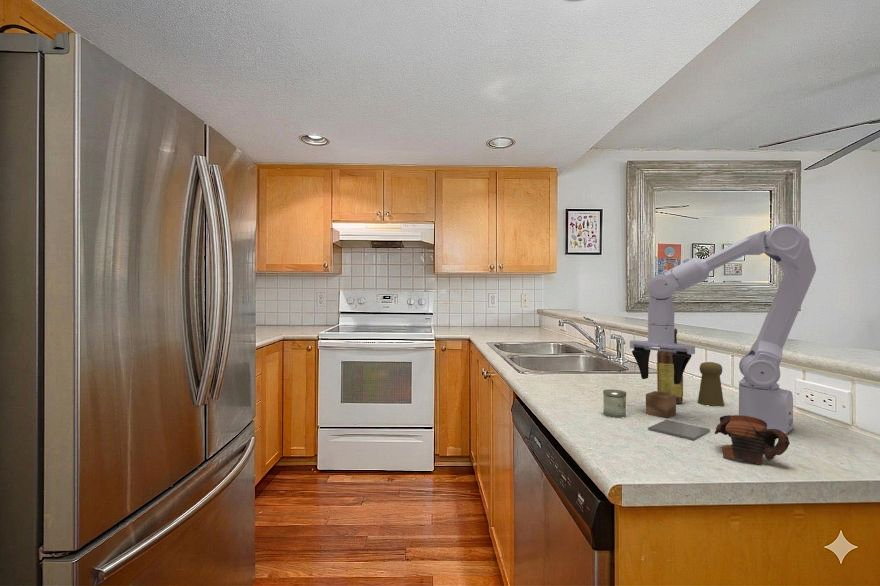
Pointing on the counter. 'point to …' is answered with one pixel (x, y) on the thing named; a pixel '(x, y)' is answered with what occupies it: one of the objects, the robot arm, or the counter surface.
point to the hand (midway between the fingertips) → (660, 381)
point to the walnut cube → (661, 404)
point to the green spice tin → (614, 403)
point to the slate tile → (679, 429)
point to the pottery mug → (751, 439)
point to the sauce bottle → (668, 373)
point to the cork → (710, 384)
